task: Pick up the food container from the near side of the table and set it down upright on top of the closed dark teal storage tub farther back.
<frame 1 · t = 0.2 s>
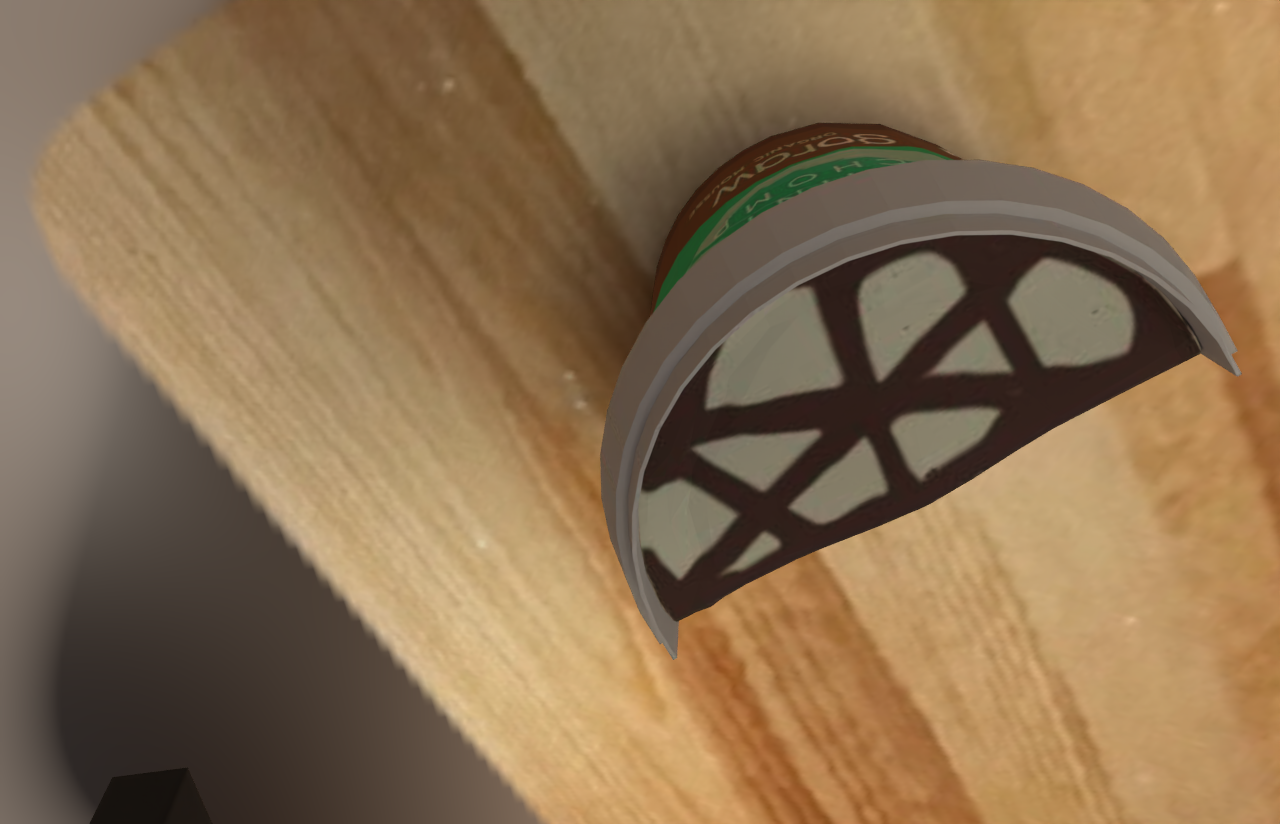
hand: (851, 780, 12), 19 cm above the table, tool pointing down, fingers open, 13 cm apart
food container: (779, 211, 28), on the table
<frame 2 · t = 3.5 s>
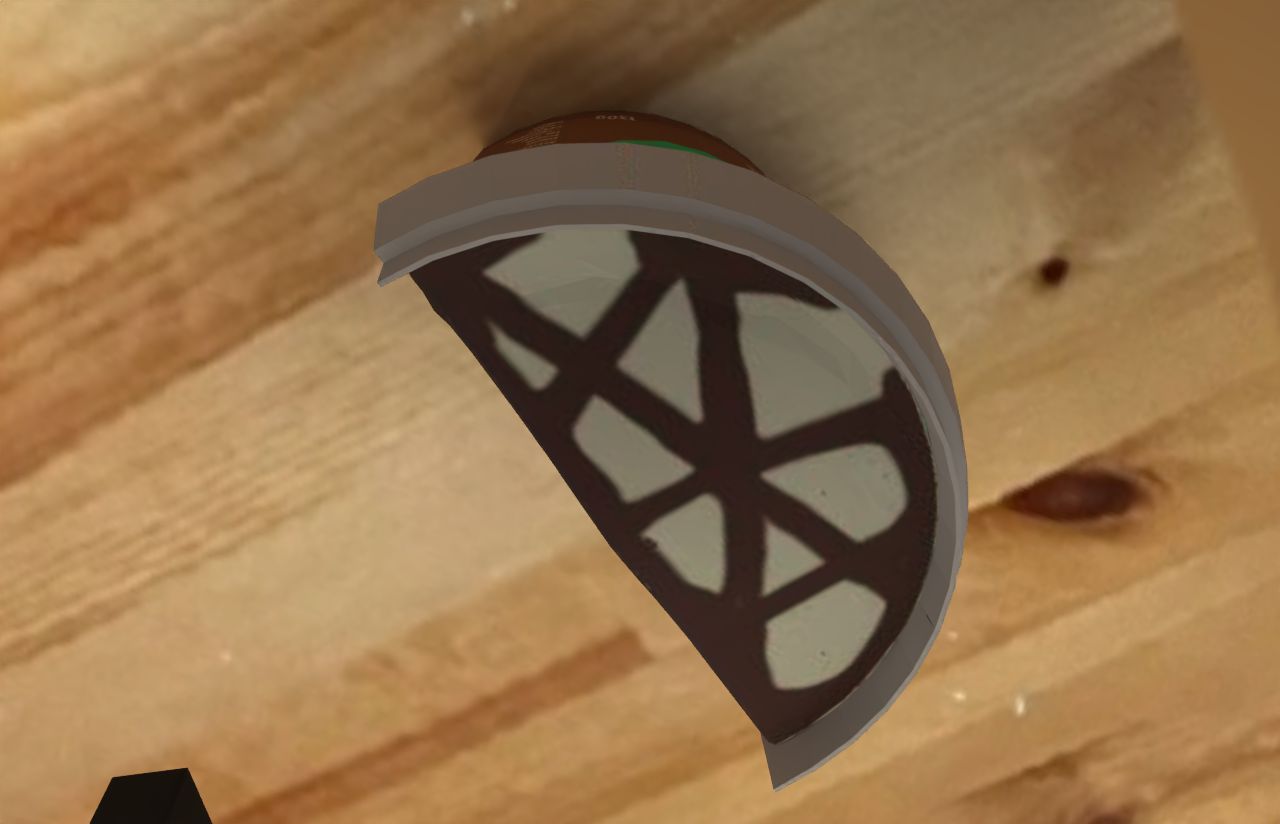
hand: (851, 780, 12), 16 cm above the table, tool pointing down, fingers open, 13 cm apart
food container: (714, 247, 26), on the table
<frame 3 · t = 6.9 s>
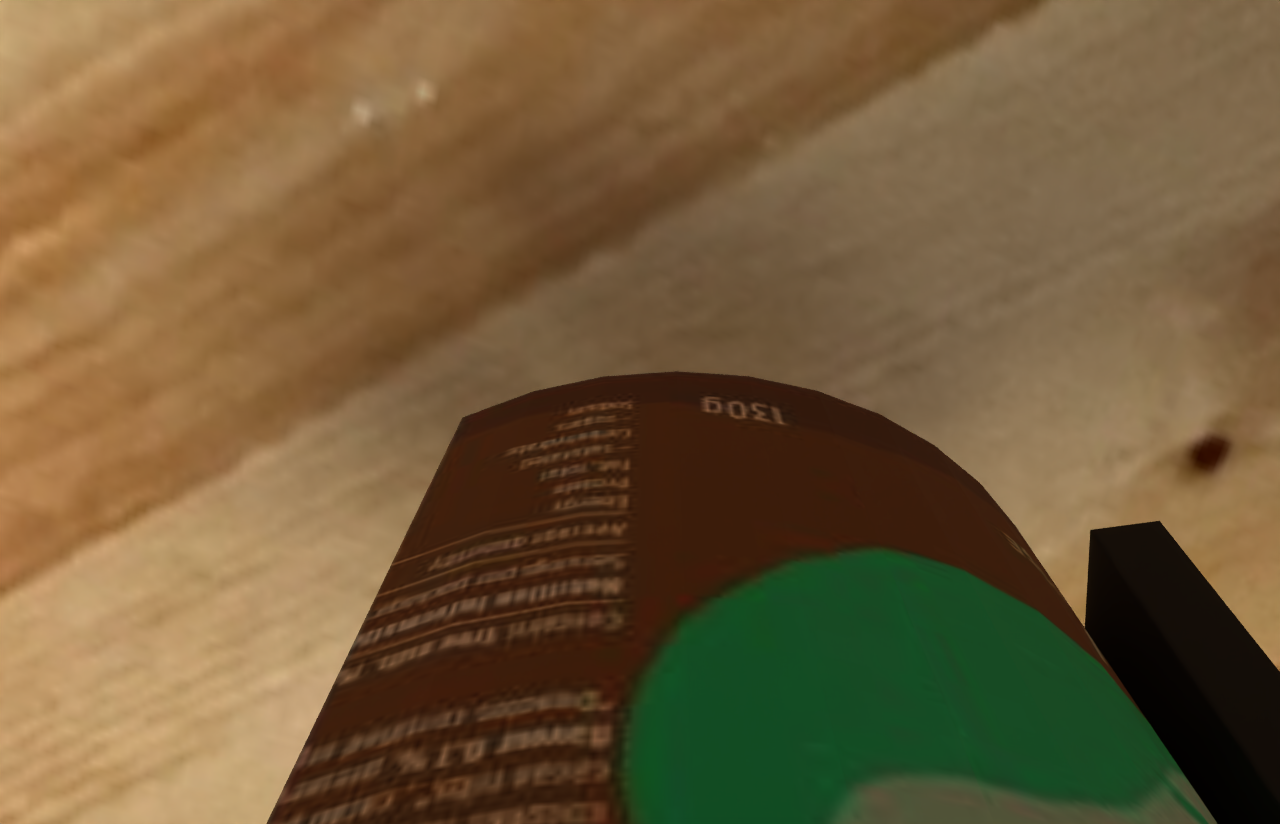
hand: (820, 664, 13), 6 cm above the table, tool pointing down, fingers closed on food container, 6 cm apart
food container: (881, 618, 14), point 5 cm above the table, touching gripper
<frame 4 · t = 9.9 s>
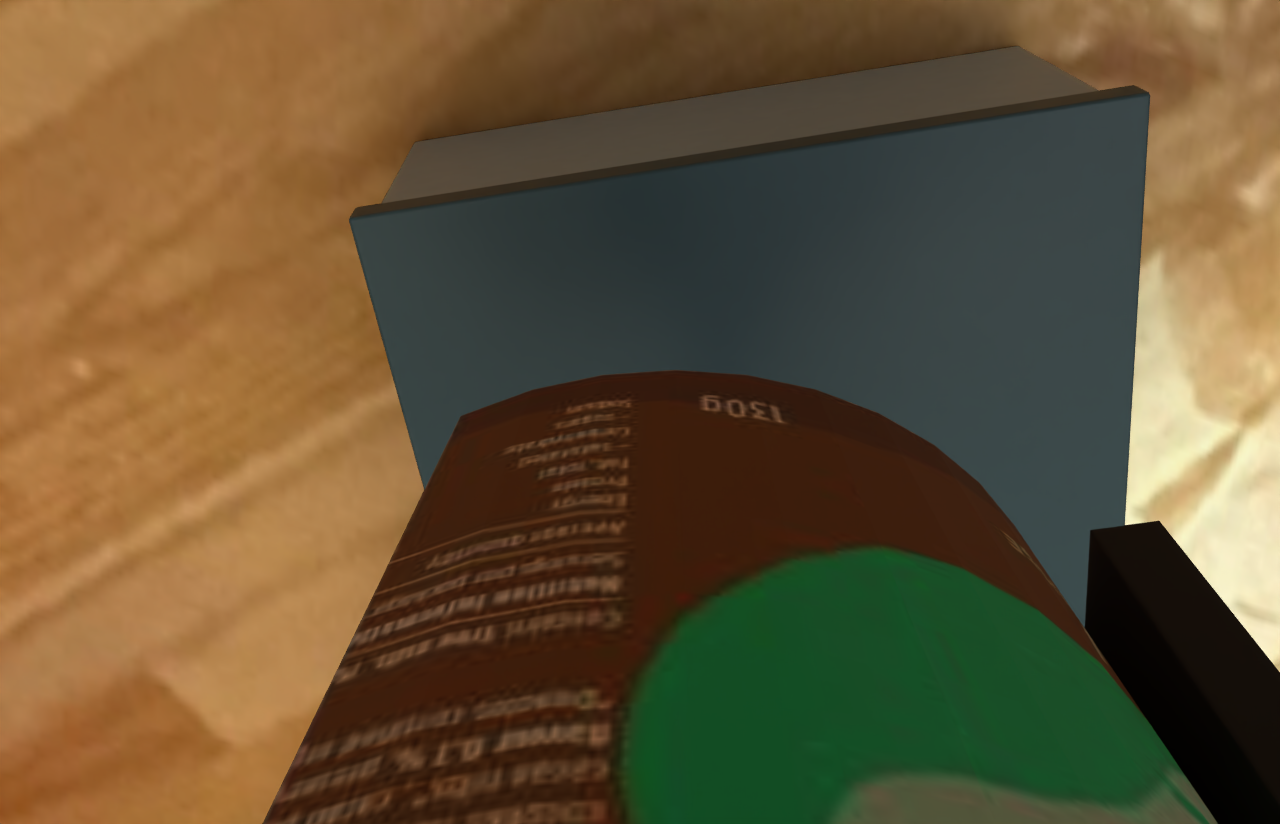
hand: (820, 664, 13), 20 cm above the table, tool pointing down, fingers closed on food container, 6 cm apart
food container: (880, 617, 14), point 19 cm above the table, touching gripper
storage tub: (742, 335, 33), on the table
when the fingers open (8 cm above the table, at t = 13.3 s): food container stays where it is, resting on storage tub.
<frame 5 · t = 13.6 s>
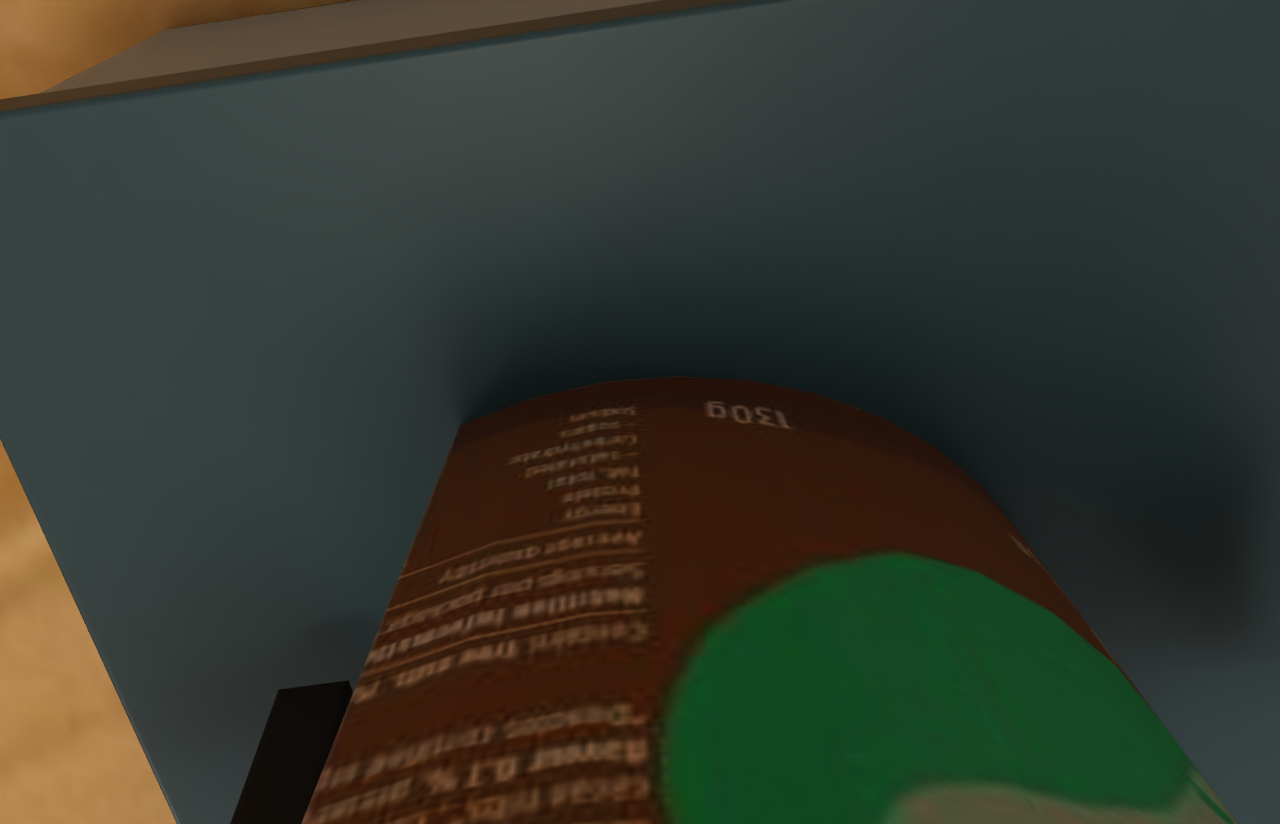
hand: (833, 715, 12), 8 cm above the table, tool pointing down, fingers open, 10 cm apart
food container: (881, 621, 14), point 7 cm above the table, touching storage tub
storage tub: (743, 375, 20), on the table
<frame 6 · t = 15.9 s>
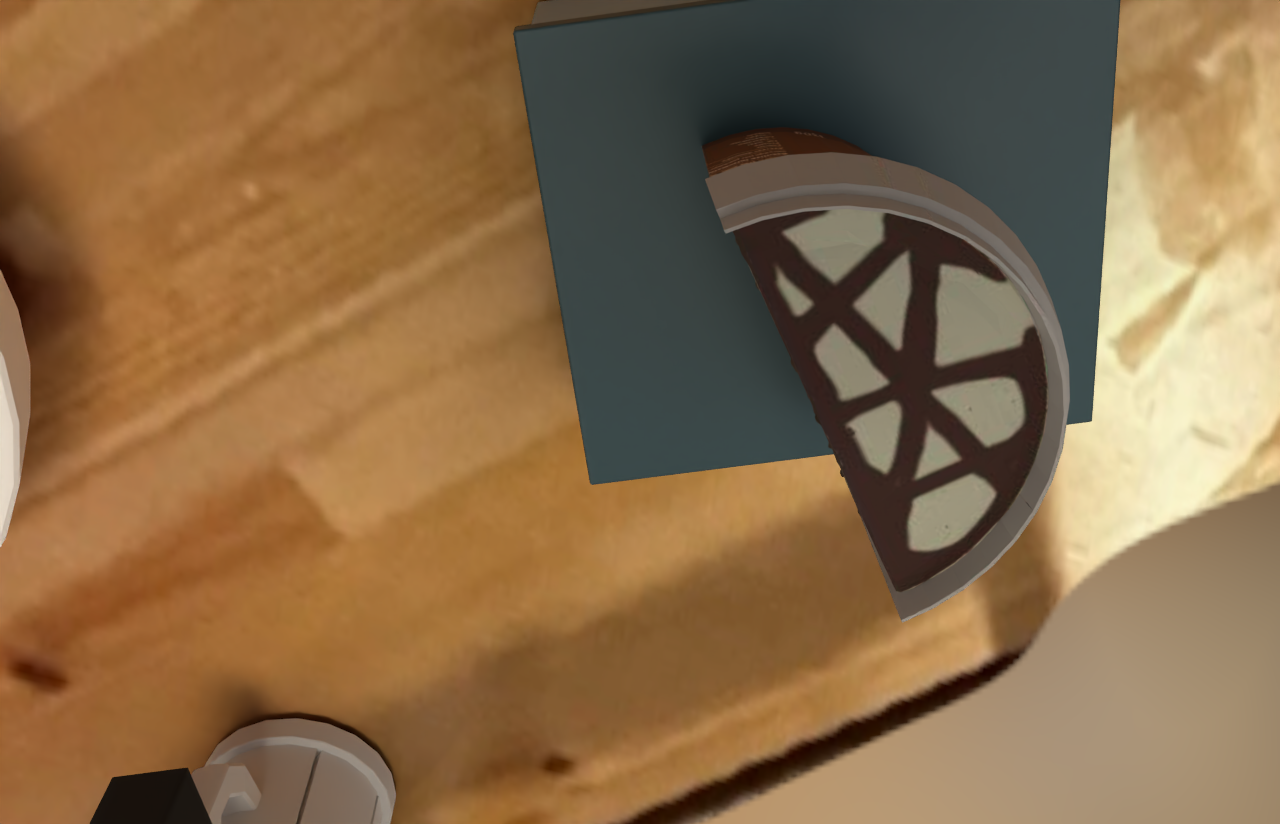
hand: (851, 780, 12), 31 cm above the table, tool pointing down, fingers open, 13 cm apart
food container: (856, 239, 34), point 7 cm above the table, touching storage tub
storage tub: (792, 176, 41), on the table
cup: (289, 771, 53), on the table
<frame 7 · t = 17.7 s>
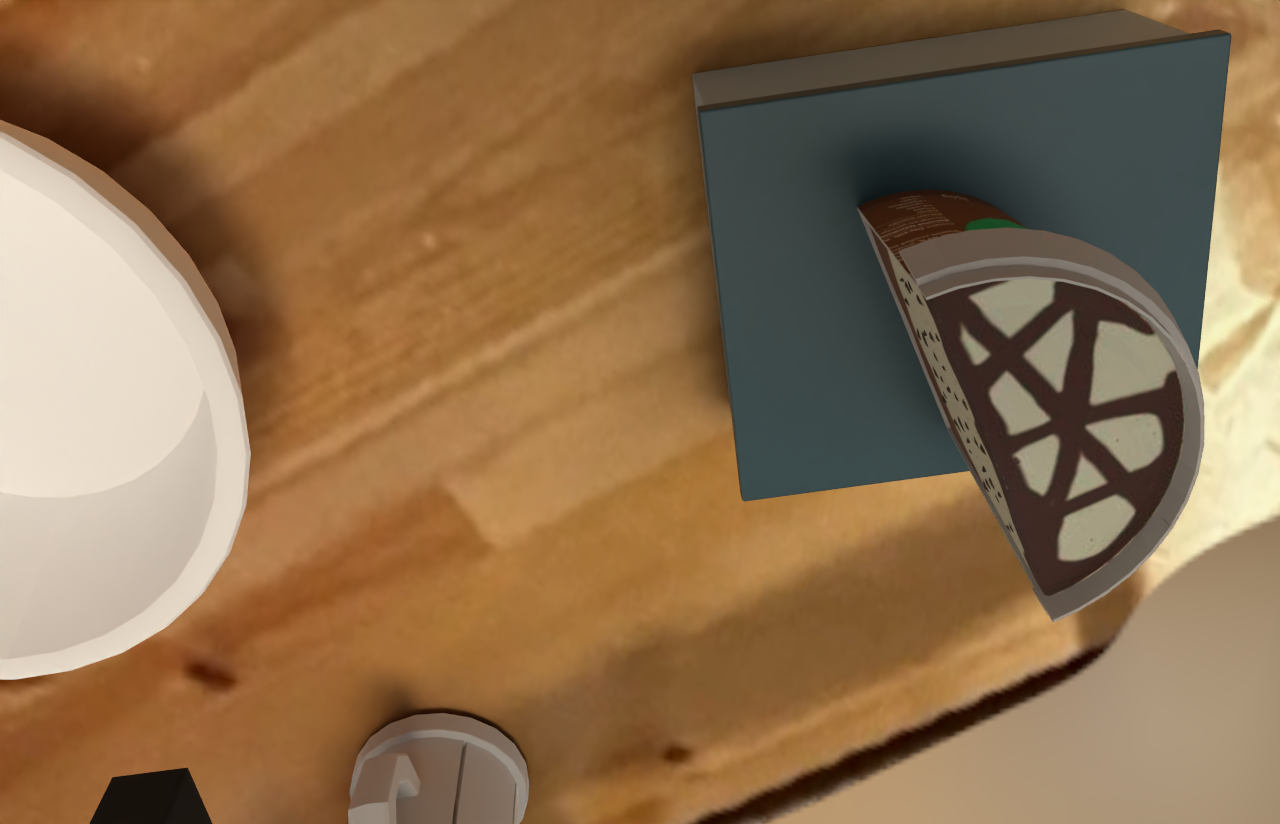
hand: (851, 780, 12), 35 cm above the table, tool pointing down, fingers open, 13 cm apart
food container: (987, 284, 39), point 7 cm above the table, touching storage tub
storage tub: (912, 222, 45), on the table
cup: (431, 761, 58), on the table
bowl: (20, 324, 46), on the table
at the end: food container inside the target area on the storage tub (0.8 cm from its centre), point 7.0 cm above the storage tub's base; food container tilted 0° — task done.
